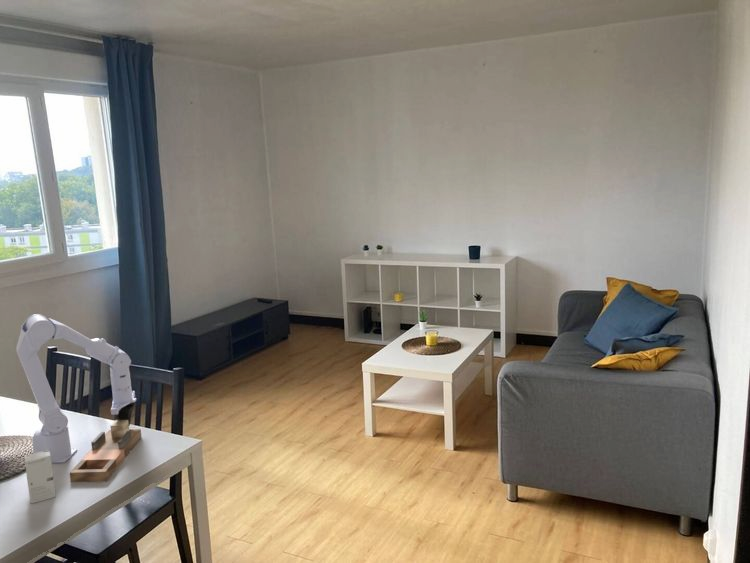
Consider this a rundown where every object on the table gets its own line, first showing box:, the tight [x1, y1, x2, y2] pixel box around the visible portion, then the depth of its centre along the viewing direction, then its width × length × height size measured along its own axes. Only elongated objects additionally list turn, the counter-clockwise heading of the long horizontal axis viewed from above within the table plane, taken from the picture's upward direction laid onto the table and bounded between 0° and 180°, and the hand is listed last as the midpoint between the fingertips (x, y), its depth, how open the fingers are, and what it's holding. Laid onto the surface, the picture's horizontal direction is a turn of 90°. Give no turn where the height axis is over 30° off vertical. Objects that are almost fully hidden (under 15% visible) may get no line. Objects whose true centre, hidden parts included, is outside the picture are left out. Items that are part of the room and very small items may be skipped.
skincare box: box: [23, 450, 56, 504], centre depth 159 cm, size 6×4×12 cm
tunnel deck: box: [69, 428, 142, 483], centre depth 179 cm, size 10×26×6 cm, turn 1°
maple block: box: [110, 419, 130, 438], centre depth 188 cm, size 4×4×4 cm
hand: (126, 426), depth 193 cm, fingers closed
